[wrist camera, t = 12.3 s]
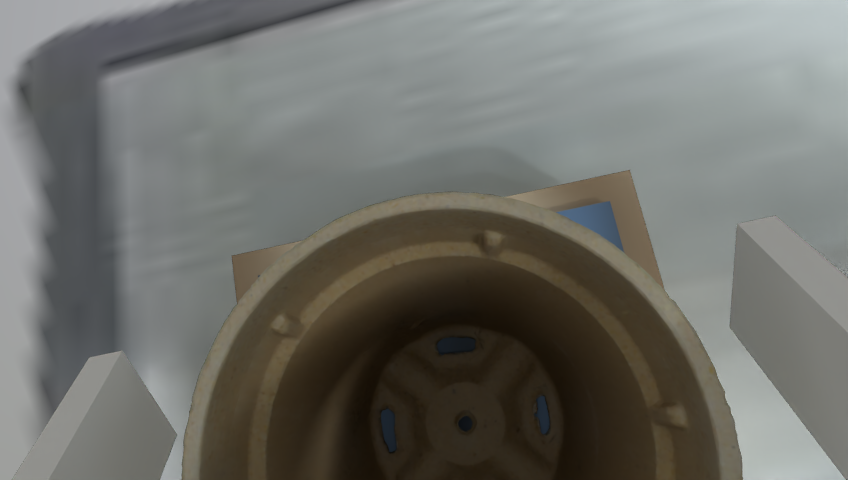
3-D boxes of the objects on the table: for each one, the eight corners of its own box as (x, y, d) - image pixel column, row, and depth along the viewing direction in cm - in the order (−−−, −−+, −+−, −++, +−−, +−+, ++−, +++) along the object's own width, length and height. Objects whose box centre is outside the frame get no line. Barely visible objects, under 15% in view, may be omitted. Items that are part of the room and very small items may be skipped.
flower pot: (516, 216, 19) (532, 98, 11) (691, 481, 17) (880, 583, 9) (270, 365, 19) (99, 357, 11) (414, 653, 17) (336, 923, 9)
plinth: (604, 207, 24) (632, 166, 19) (707, 579, 21) (771, 641, 16) (278, 276, 25) (226, 253, 20) (325, 642, 22) (277, 718, 17)
